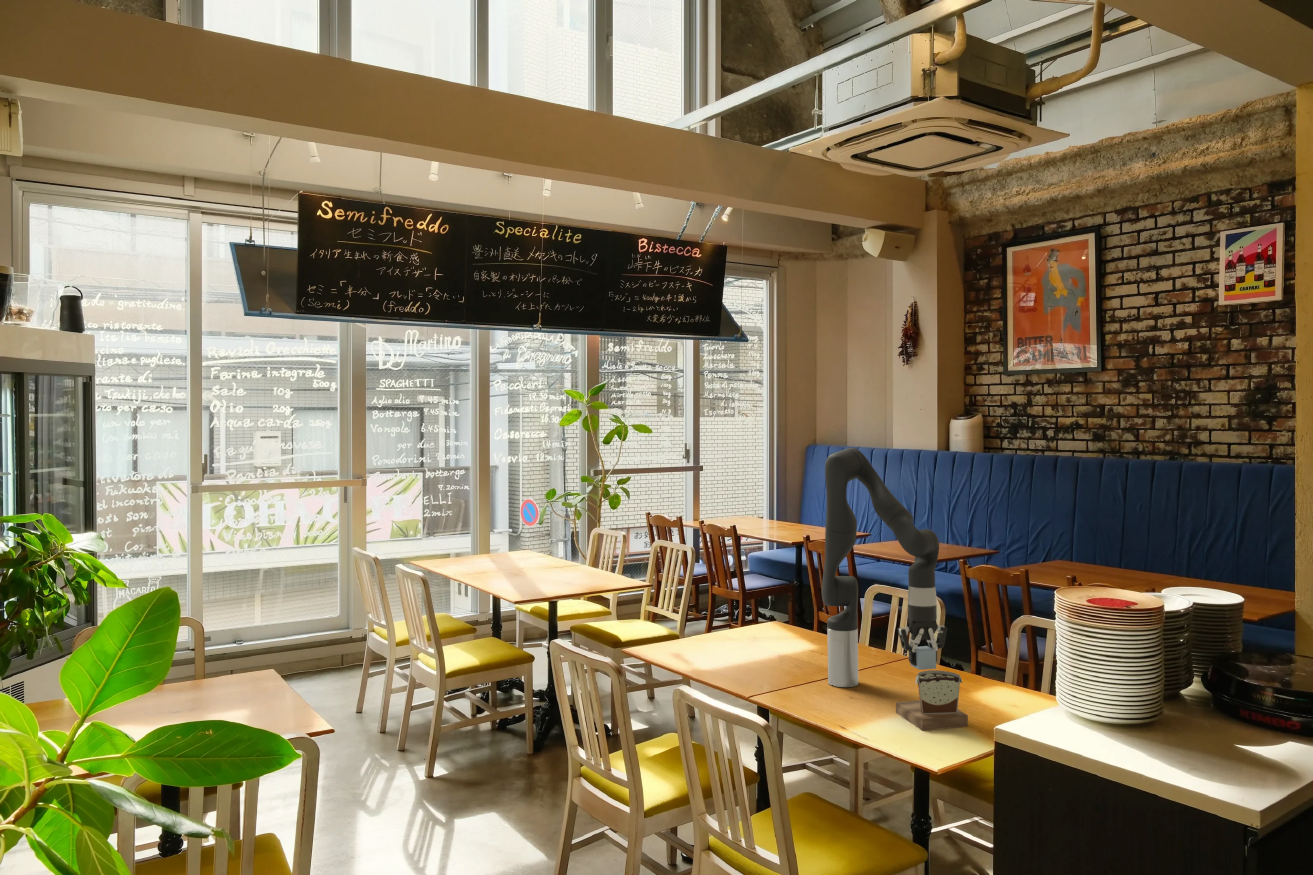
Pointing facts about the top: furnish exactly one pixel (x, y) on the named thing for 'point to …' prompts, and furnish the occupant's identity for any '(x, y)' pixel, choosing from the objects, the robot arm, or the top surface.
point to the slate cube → (925, 658)
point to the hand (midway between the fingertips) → (923, 664)
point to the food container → (938, 691)
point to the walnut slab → (930, 717)
